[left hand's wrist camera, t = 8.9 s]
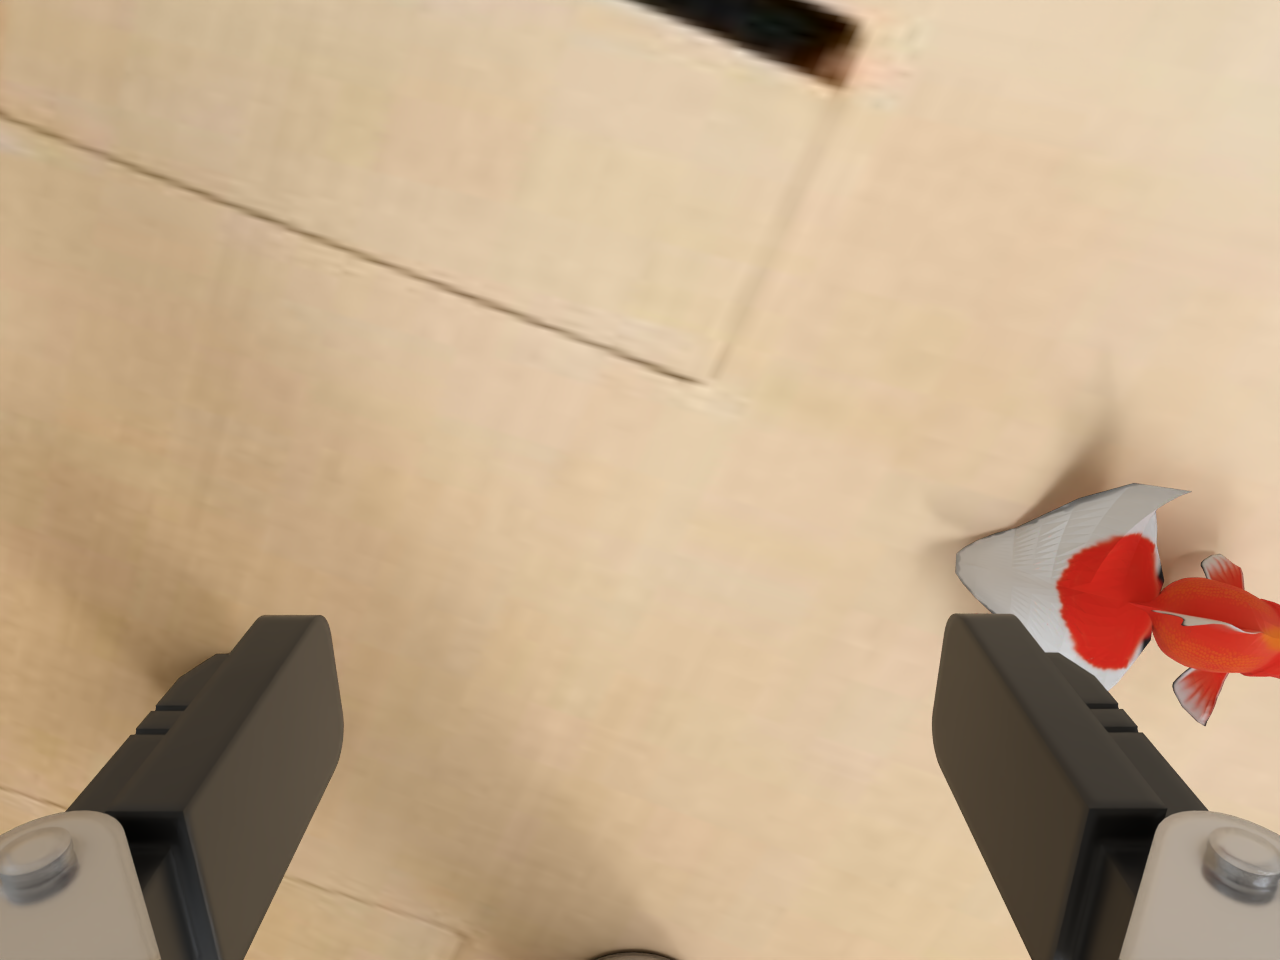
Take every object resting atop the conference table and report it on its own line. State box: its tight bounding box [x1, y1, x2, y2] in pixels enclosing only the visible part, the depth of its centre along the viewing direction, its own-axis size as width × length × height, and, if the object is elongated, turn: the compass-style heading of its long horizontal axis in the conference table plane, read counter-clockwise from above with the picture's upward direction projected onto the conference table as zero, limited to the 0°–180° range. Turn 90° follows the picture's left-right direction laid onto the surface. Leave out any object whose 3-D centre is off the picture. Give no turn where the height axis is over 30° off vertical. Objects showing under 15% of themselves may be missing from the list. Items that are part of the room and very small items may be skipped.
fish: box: [955, 483, 1280, 726], centre depth 40 cm, size 11×16×10 cm
